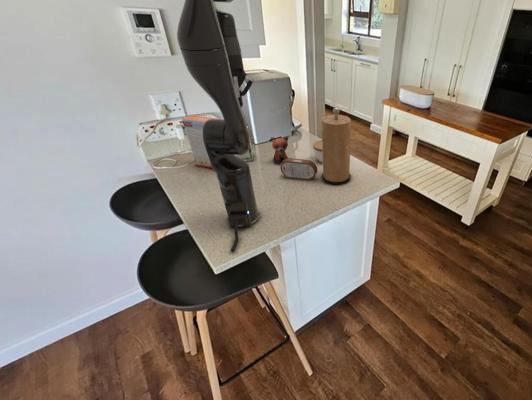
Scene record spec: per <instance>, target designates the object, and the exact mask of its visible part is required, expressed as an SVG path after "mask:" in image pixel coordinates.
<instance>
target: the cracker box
mask: <svg viewBox="0 0 532 400" xmlns="http://www.w3.org/2000/svg"><path fill="white" fill-rule="evenodd" d="M210 119H218V117H217V118H216V117H210V116H203V115H197V114H190V115H187V116H185V117H183V118H181V120H182V121H181V122H182V123H183V127H184V131H185V135H186V136H187V140H188V144H189V146H190V150H191V152H192V156H193V159H194V162H195V166H198V167H204V168H209V169H213V168H212V166H211V163H210V160H209V157H208V154H207V152H206V149H205V146H204V142H203V137H202V130H203V126H204V123H205V122H206V121H207V120H210Z"/></svg>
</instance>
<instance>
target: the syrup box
mask: <svg viewBox="0 0 532 400" xmlns="http://www.w3.org/2000/svg"><path fill="white" fill-rule="evenodd" d="M247 128H248V131H249V132H250V129H249V126H248V125H247ZM249 136H250V134H249ZM250 137H251V136H250ZM238 157H239V158H241V159H243V160H245V161H246V162H250V161H252V162H253V161H254V152H253V147H252V140H251V139H250V146H249V150H248V151H247V153H245V154H243V155H238Z"/></svg>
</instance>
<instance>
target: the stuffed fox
mask: <svg viewBox="0 0 532 400" xmlns="http://www.w3.org/2000/svg"><path fill="white" fill-rule="evenodd" d="M289 139H290V137H289V136H286V137H278V138H276V137H274V136H273V137H272V136H271V137H270V140H271V141H272V144H271V147H272V148H273V149H274V154H273V162H275V164H276V165H280V163H281V158H282V159H283V160H285V159H286V158H289V157H288V155H287V153H286V150H287V149H288V146H289V142H288V141H289Z"/></svg>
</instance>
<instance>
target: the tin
mask: <svg viewBox="0 0 532 400" xmlns="http://www.w3.org/2000/svg"><path fill="white" fill-rule="evenodd" d="M280 172H281V173H282V175H284V176H285V177H287V178H290V179H298V180H307V181H309V180H313V179H314V178H315V177H316V175H317V174H318V166H317V164H316V163H315V162H314V161H312V160H310V159H304V158H292V157H288V158H286V159H283V160H282V162H281V164H280Z"/></svg>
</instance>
